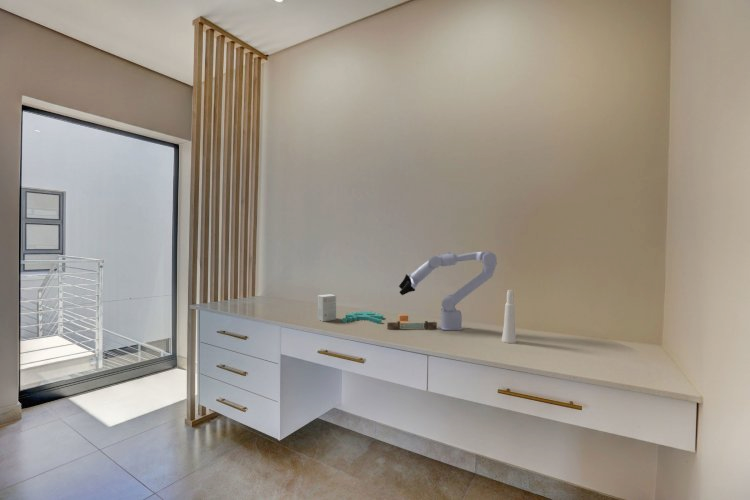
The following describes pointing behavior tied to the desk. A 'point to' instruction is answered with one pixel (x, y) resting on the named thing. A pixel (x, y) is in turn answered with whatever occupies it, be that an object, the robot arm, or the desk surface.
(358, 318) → the alien figure
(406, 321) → the doorstop wedge
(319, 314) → the small box
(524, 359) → the desk surface
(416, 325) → the grey rod
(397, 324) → the frame
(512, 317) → the cosmetic bottle
